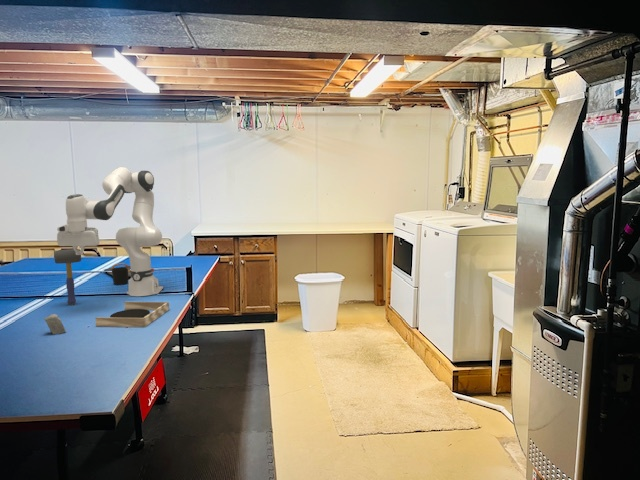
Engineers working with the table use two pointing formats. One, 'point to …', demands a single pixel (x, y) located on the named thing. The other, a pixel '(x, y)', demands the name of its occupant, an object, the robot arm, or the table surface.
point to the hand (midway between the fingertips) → (79, 254)
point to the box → (135, 322)
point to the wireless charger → (131, 313)
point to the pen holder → (120, 276)
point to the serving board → (118, 267)
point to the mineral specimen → (55, 324)
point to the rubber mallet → (68, 269)
